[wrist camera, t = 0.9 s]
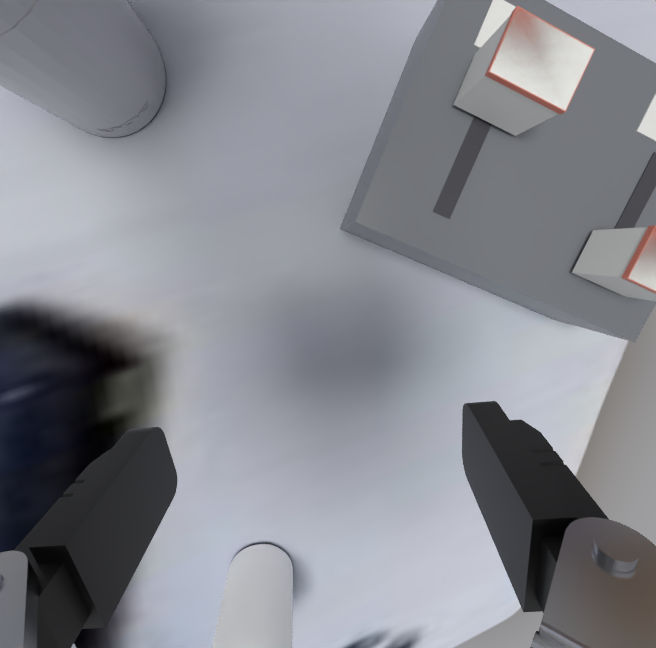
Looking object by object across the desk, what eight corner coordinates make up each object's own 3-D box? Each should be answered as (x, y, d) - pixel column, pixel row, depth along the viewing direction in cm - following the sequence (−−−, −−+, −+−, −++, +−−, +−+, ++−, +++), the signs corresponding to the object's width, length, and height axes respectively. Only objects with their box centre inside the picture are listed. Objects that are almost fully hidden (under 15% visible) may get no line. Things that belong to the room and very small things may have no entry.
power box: (553, 319, 36) (636, 342, 27) (340, 228, 33) (355, 221, 24) (637, 153, 34) (758, 120, 25) (416, 38, 31) (464, -47, 22)
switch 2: (625, 297, 26) (690, 307, 22) (570, 273, 26) (627, 278, 21) (647, 255, 26) (719, 257, 21) (593, 229, 25) (655, 225, 21)
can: (296, 542, 39) (296, 669, 27) (289, 595, 40) (286, 739, 28) (232, 538, 38) (203, 667, 27) (227, 593, 40) (197, 739, 28)
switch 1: (515, 137, 24) (565, 112, 19) (452, 105, 23) (488, 71, 19) (538, 86, 23) (595, 49, 19) (474, 52, 23) (517, 5, 18)
